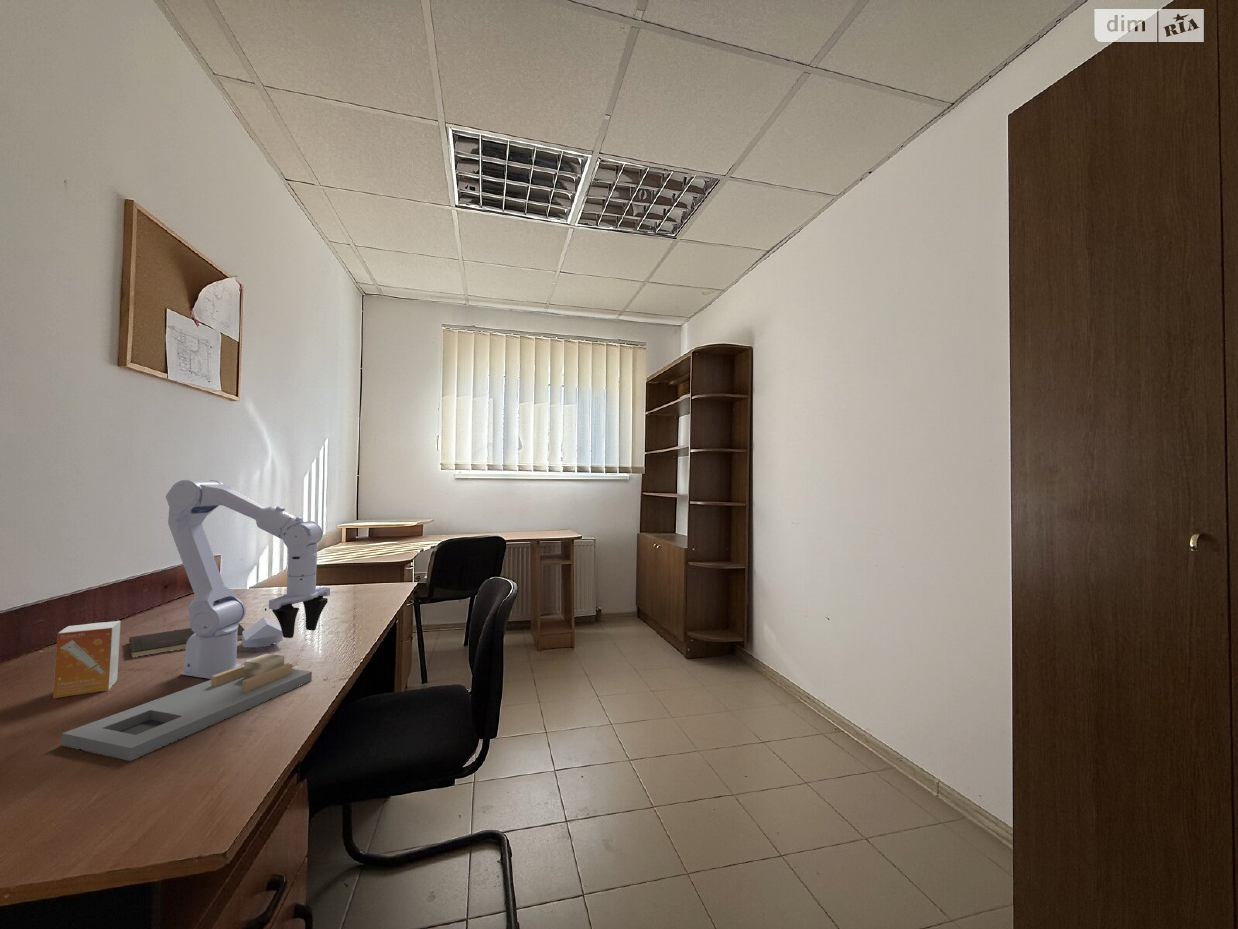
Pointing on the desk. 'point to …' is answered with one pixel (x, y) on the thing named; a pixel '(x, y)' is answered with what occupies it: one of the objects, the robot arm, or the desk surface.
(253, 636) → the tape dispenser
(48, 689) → the desk surface
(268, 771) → the desk surface
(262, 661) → the wooden block
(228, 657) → the robot arm
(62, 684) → the small box
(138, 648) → the hardcover book
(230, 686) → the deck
